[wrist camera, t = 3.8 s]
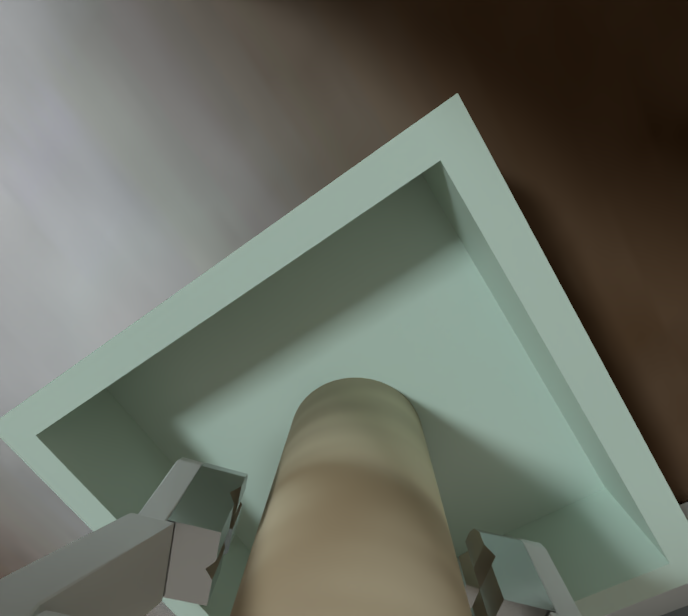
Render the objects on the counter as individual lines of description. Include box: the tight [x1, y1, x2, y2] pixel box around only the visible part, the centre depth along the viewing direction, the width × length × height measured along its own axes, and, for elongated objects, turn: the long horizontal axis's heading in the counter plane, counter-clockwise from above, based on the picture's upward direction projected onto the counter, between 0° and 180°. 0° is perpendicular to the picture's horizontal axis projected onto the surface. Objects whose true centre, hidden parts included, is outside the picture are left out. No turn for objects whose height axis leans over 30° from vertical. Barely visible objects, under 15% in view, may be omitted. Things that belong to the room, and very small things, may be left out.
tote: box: [0, 93, 688, 616], centre depth 11 cm, size 13×13×4 cm
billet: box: [230, 378, 472, 616], centre depth 8 cm, size 4×4×8 cm
